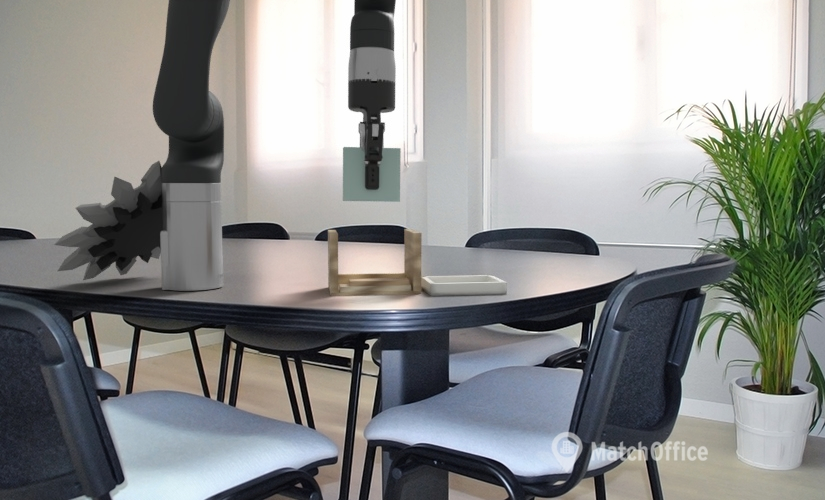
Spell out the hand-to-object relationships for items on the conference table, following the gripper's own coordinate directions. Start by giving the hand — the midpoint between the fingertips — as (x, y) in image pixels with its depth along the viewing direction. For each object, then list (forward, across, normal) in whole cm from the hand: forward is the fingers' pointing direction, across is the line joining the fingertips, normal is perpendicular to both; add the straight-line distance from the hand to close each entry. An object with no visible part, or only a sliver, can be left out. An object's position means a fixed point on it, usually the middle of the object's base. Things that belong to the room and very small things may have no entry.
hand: (370, 189), depth 108 cm
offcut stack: (+16, +5, 0) cm, 17 cm away
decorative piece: (+15, -27, -38) cm, 49 cm away
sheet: (+2, 0, 0) cm, 2 cm away
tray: (+16, +5, +14) cm, 22 cm away
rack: (+16, +2, 0) cm, 16 cm away
